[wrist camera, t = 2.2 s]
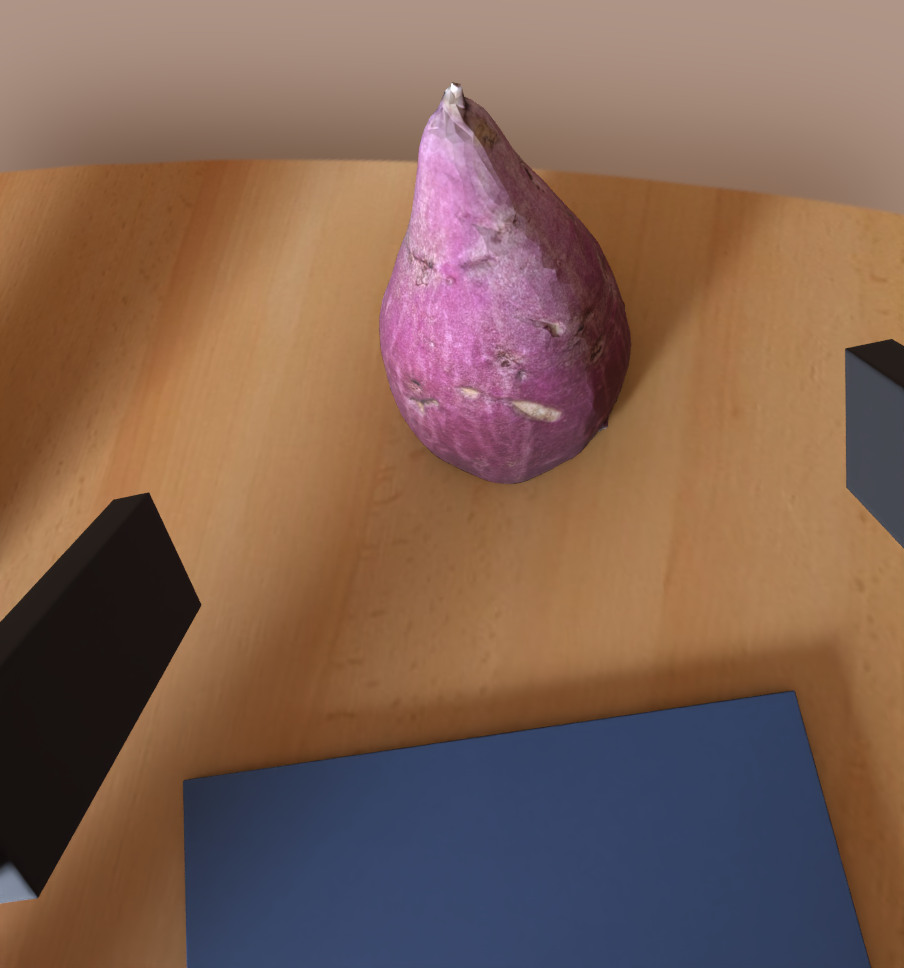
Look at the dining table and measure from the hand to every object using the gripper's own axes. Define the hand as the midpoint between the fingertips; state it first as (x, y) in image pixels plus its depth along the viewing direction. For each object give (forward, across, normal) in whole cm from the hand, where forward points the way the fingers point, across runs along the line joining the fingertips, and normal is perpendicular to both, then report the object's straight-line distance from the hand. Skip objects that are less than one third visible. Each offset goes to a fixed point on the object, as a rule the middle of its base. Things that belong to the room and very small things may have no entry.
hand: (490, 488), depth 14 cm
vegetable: (+20, 0, -5) cm, 20 cm away
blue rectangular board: (+3, -4, -21) cm, 22 cm away
